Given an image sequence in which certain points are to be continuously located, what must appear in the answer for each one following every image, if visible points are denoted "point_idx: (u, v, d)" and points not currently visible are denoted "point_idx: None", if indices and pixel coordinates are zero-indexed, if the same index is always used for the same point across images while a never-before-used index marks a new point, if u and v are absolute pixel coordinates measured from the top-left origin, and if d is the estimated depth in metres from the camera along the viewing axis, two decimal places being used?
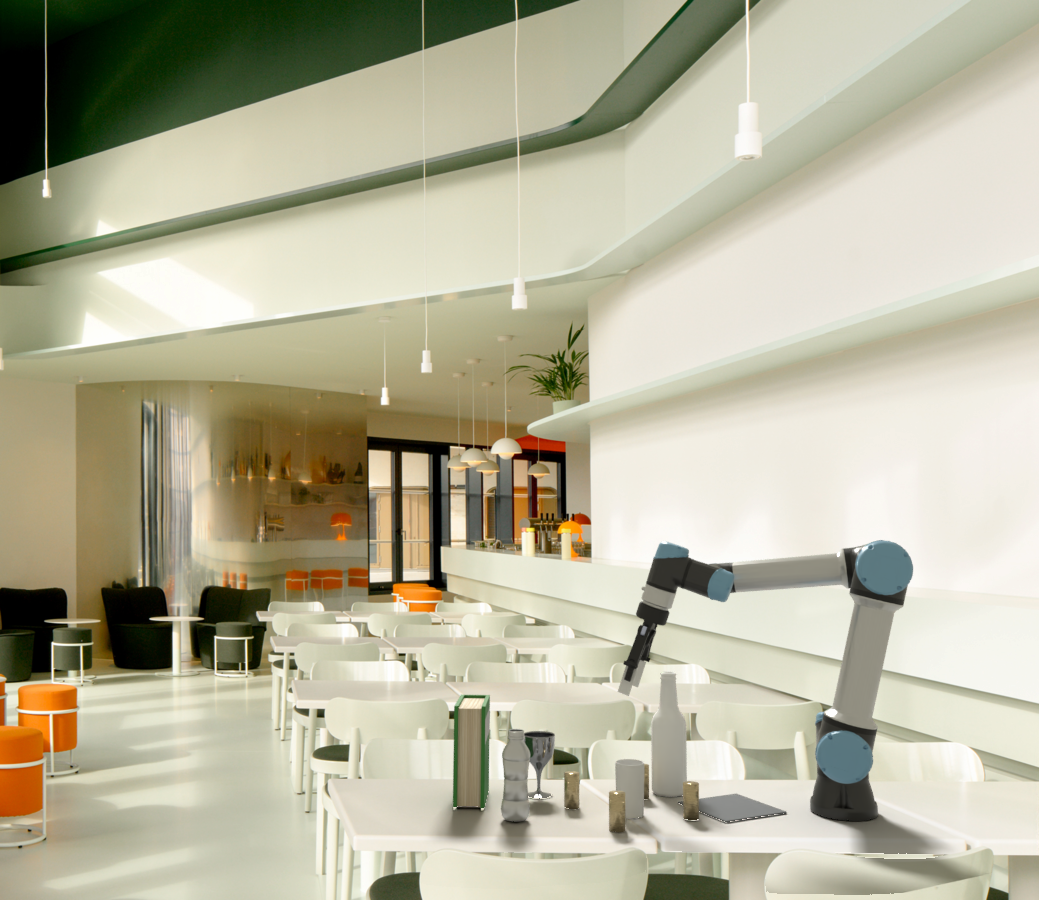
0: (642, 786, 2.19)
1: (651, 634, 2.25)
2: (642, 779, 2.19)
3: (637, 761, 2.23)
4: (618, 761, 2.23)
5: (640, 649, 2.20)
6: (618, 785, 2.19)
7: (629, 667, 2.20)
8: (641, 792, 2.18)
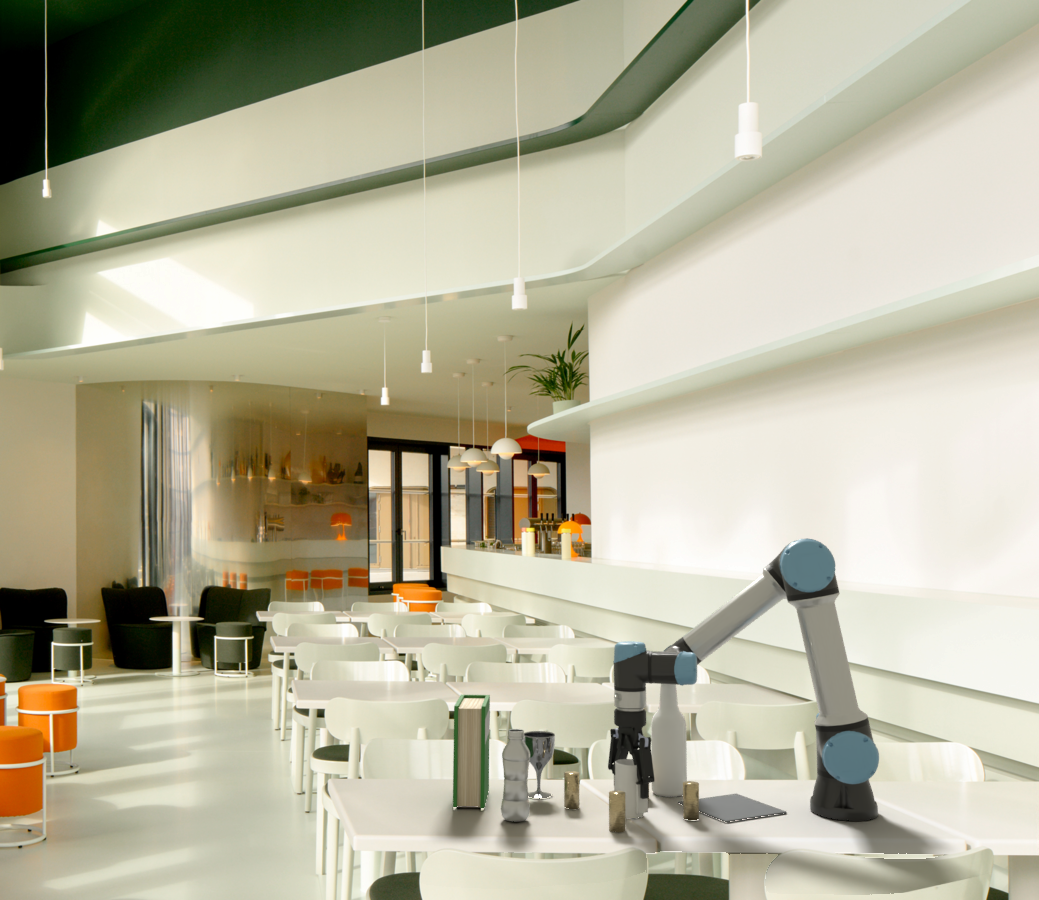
0: None
1: None
2: None
3: None
4: (618, 761, 2.23)
5: (651, 762, 2.16)
6: (618, 785, 2.19)
7: (644, 784, 2.16)
8: None
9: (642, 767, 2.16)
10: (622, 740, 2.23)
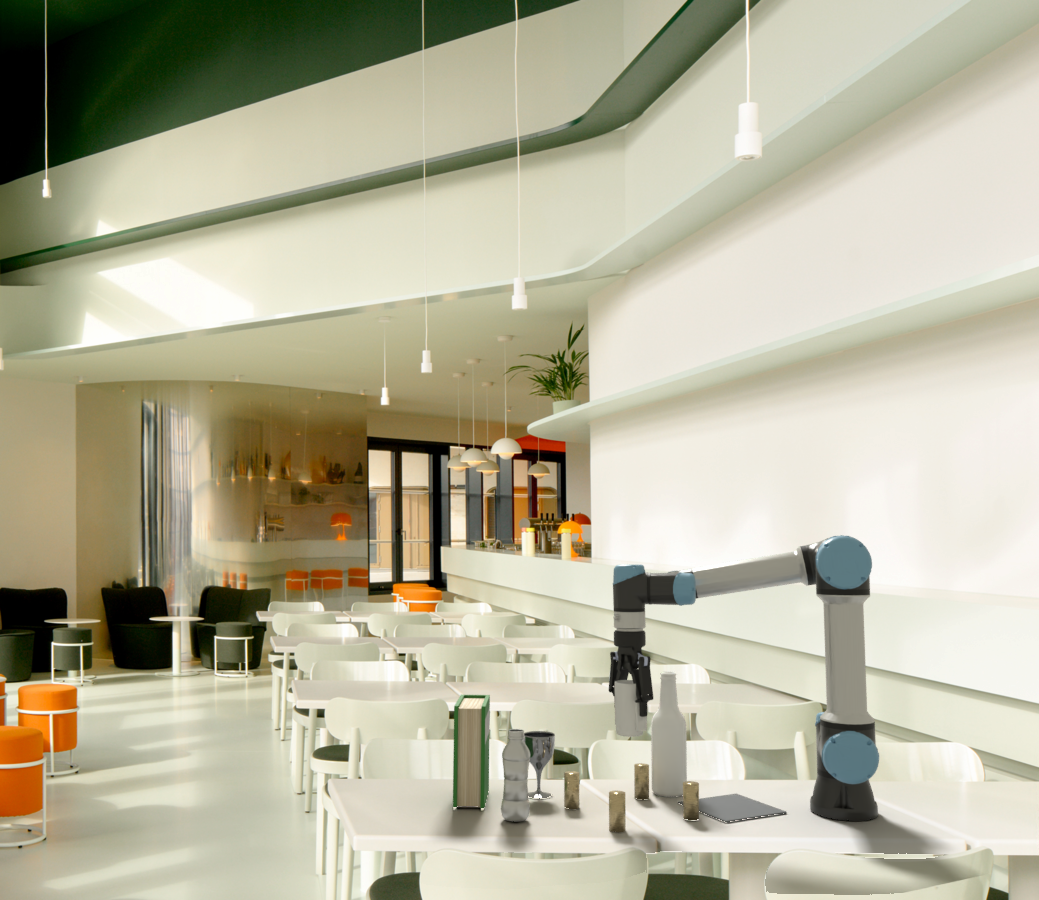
0: None
1: None
2: None
3: None
4: (617, 682, 2.25)
5: (650, 681, 2.19)
6: (617, 704, 2.21)
7: (643, 702, 2.18)
8: None
9: (641, 685, 2.18)
10: (622, 661, 2.25)
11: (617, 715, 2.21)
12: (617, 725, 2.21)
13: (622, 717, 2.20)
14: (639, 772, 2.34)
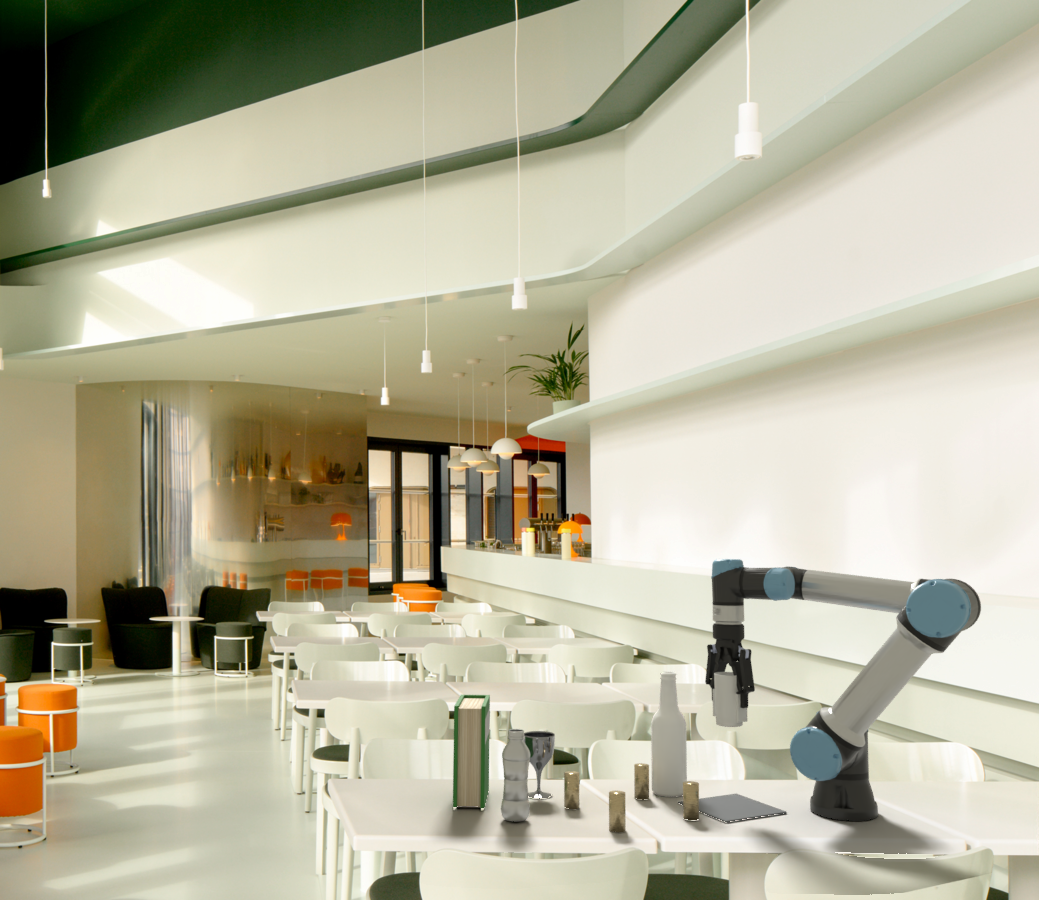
0: None
1: None
2: None
3: None
4: (716, 673, 2.30)
5: (751, 673, 2.23)
6: (718, 695, 2.26)
7: (745, 694, 2.23)
8: None
9: (743, 677, 2.23)
10: (721, 653, 2.30)
11: (717, 706, 2.26)
12: (717, 716, 2.26)
13: (723, 708, 2.25)
14: (639, 772, 2.34)
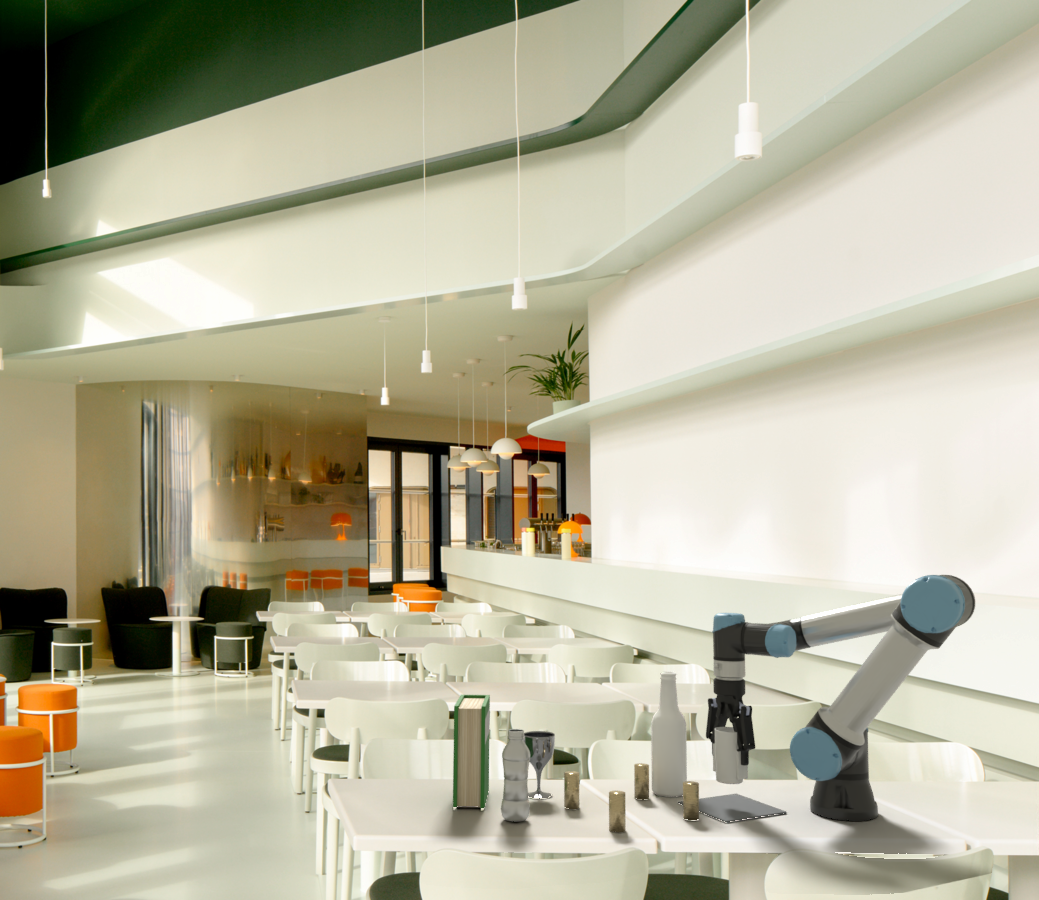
0: None
1: None
2: None
3: None
4: (717, 729, 2.29)
5: (752, 730, 2.22)
6: (718, 751, 2.25)
7: (745, 751, 2.22)
8: None
9: (743, 734, 2.21)
10: (721, 708, 2.29)
11: (718, 762, 2.25)
12: (718, 772, 2.25)
13: (723, 765, 2.23)
14: (639, 772, 2.34)
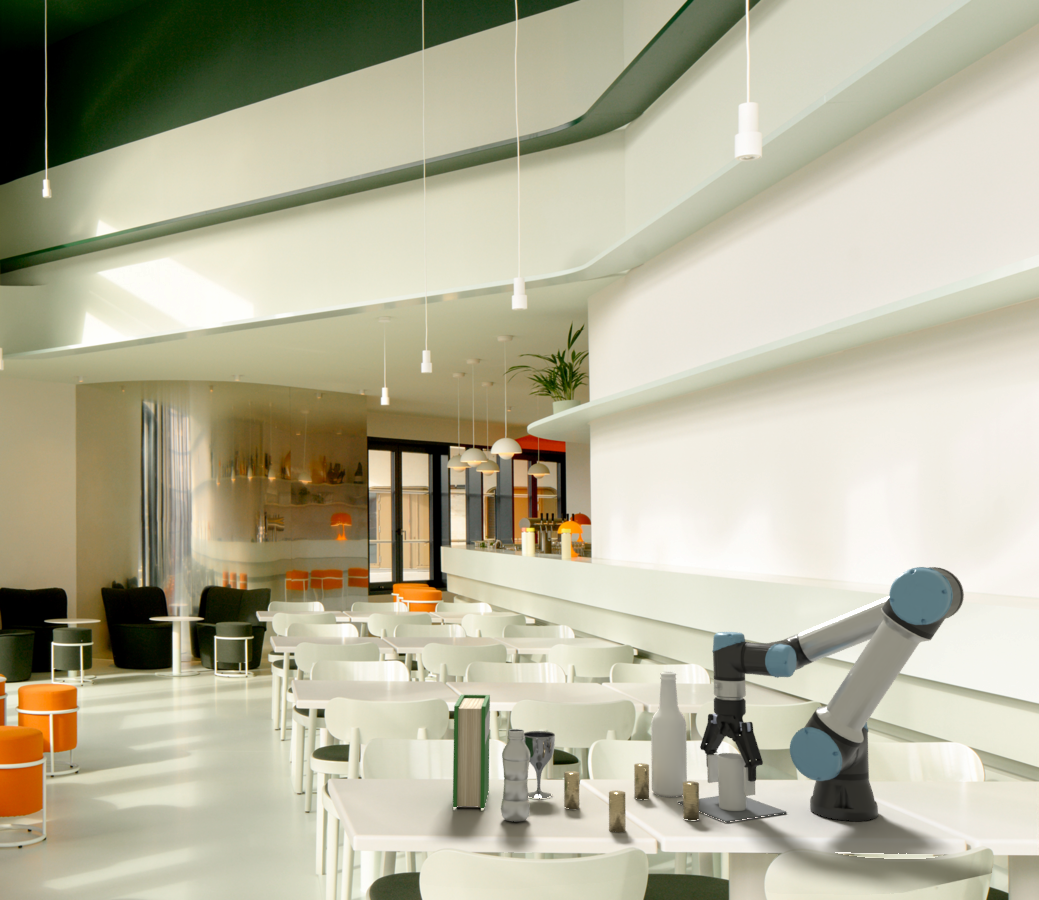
0: None
1: None
2: None
3: (739, 755, 2.28)
4: (720, 755, 2.28)
5: (756, 746, 2.20)
6: (721, 778, 2.24)
7: (752, 767, 2.19)
8: None
9: (749, 751, 2.20)
10: (721, 728, 2.28)
11: (720, 789, 2.24)
12: (720, 799, 2.24)
13: (726, 791, 2.22)
14: (639, 772, 2.34)
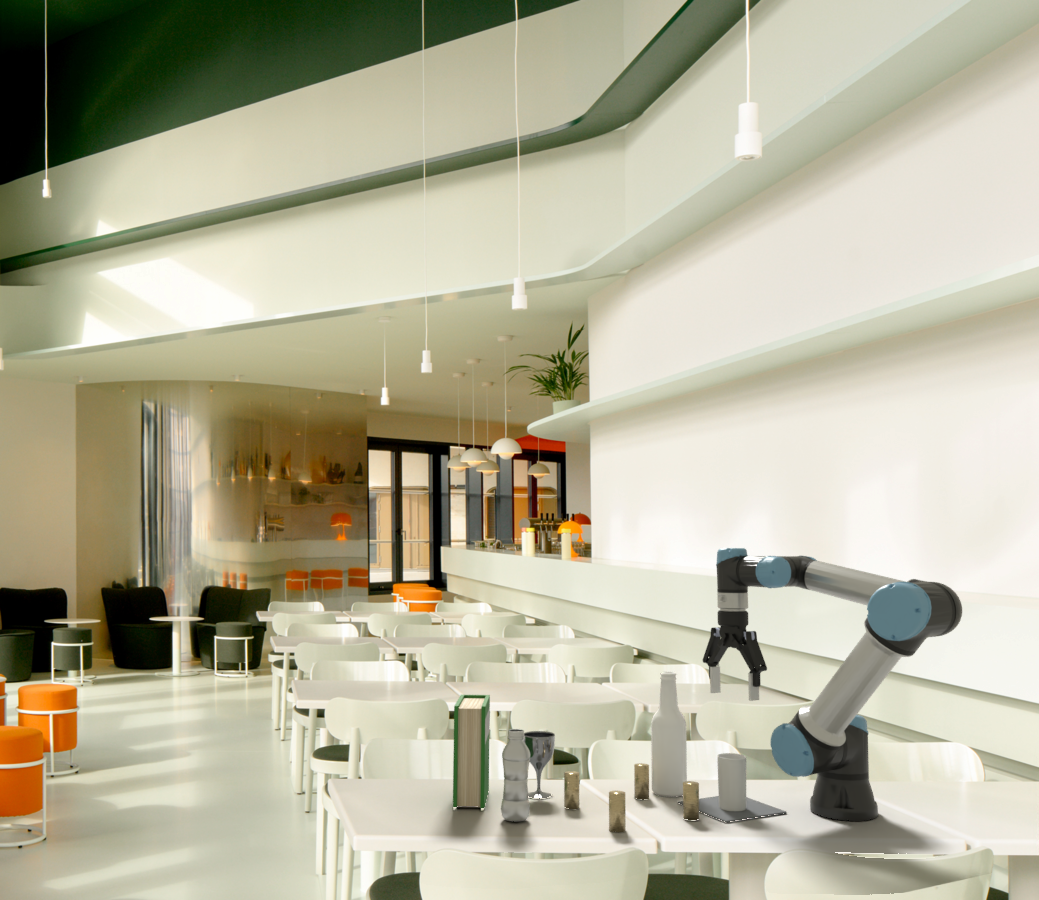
0: (744, 780, 2.23)
1: None
2: (744, 773, 2.23)
3: (739, 755, 2.28)
4: (720, 755, 2.28)
5: (760, 653, 2.29)
6: (721, 778, 2.24)
7: (757, 673, 2.28)
8: (744, 785, 2.23)
9: (753, 657, 2.29)
10: (725, 639, 2.37)
11: (720, 789, 2.24)
12: (720, 799, 2.24)
13: (726, 792, 2.22)
14: (639, 772, 2.34)
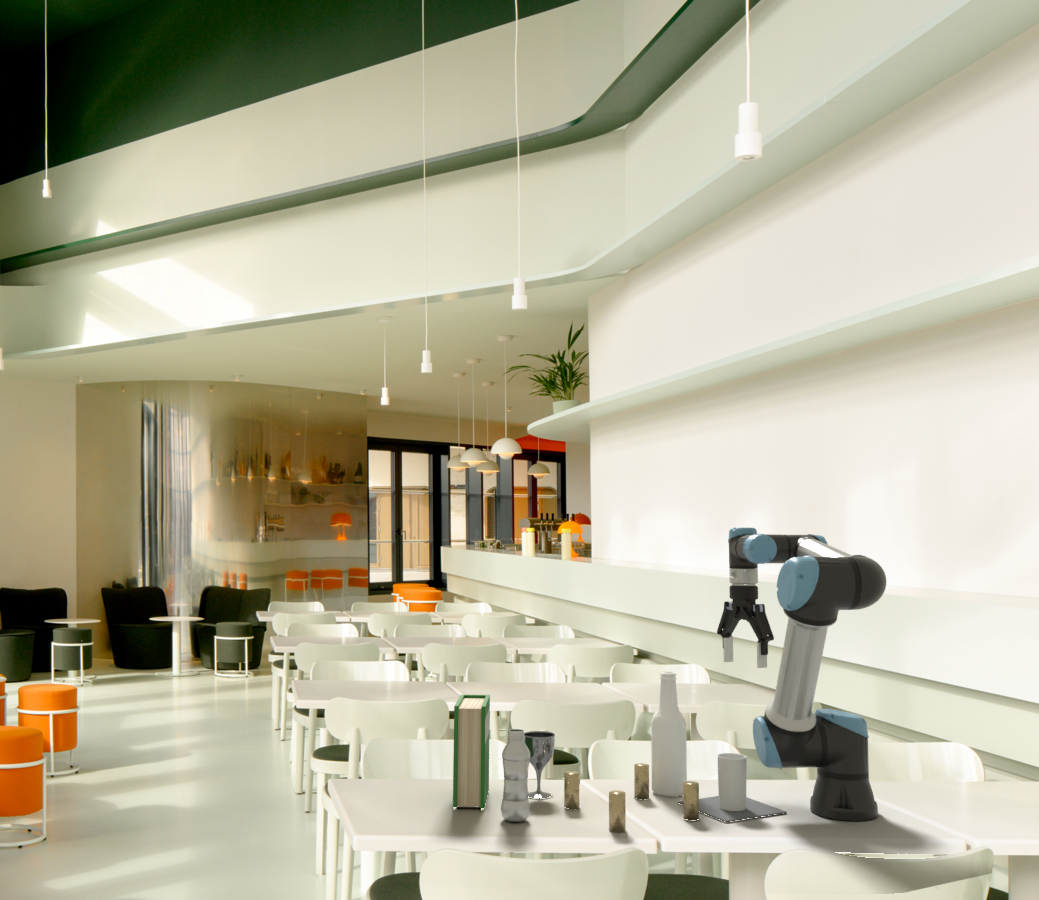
0: (745, 780, 2.23)
1: None
2: (744, 773, 2.23)
3: (739, 755, 2.28)
4: (720, 755, 2.28)
5: (768, 624, 2.48)
6: (721, 778, 2.24)
7: (765, 642, 2.47)
8: (744, 785, 2.23)
9: (761, 628, 2.47)
10: (736, 612, 2.56)
11: (720, 789, 2.24)
12: (720, 799, 2.24)
13: (726, 792, 2.22)
14: (639, 772, 2.34)
